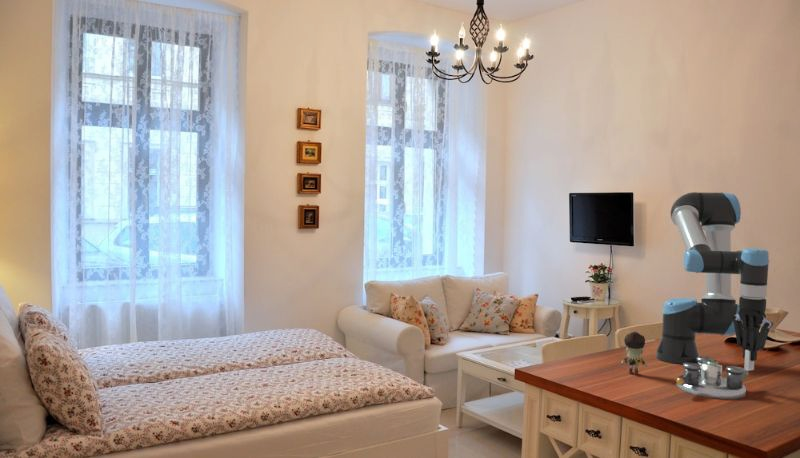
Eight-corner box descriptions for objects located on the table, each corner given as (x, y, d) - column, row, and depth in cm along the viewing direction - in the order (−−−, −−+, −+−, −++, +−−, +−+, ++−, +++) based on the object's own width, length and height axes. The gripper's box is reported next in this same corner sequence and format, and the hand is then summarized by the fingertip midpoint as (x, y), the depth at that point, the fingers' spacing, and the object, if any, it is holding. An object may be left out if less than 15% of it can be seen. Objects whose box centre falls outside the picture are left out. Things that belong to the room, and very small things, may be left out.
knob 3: (740, 390, 195) (741, 371, 194) (722, 386, 198) (723, 368, 198) (754, 382, 204) (755, 364, 204) (736, 378, 208) (737, 360, 207)
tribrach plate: (667, 388, 203) (668, 361, 203) (689, 376, 217) (690, 351, 217) (734, 403, 189) (735, 374, 189) (753, 389, 203) (755, 363, 203)
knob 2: (709, 378, 207) (710, 361, 206) (693, 375, 210) (694, 358, 210) (723, 371, 216) (724, 354, 216) (707, 368, 220) (708, 351, 219)
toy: (647, 372, 221) (649, 330, 220) (646, 378, 214) (648, 334, 213) (621, 369, 225) (622, 327, 224) (619, 374, 218) (620, 331, 217)
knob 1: (685, 379, 205) (686, 361, 205) (702, 382, 202) (703, 364, 201) (669, 387, 196) (670, 369, 195) (687, 391, 192) (688, 372, 192)
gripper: (780, 299, 196) (776, 373, 198) (741, 293, 208) (738, 363, 210) (764, 301, 193) (760, 376, 195) (726, 294, 205) (723, 365, 206)
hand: (749, 369), depth 202 cm, fingers closed
